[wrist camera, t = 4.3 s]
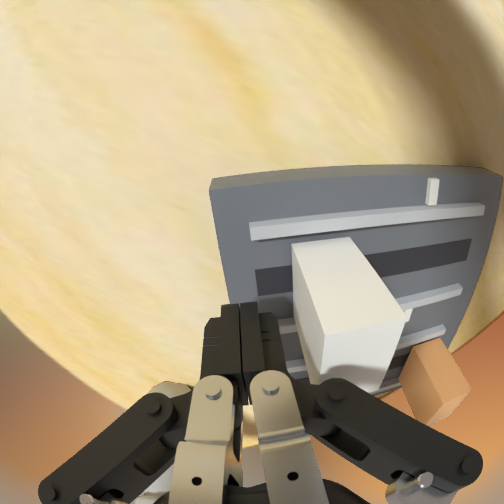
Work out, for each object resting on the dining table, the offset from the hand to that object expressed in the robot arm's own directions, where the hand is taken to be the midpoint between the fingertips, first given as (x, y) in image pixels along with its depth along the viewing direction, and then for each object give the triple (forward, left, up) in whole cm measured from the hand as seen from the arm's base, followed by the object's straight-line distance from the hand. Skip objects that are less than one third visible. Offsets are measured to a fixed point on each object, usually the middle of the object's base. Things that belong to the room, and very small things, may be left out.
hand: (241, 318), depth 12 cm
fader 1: (0, +4, -2) cm, 5 cm away
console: (+5, +8, -4) cm, 11 cm away
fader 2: (+10, +13, -2) cm, 17 cm away
